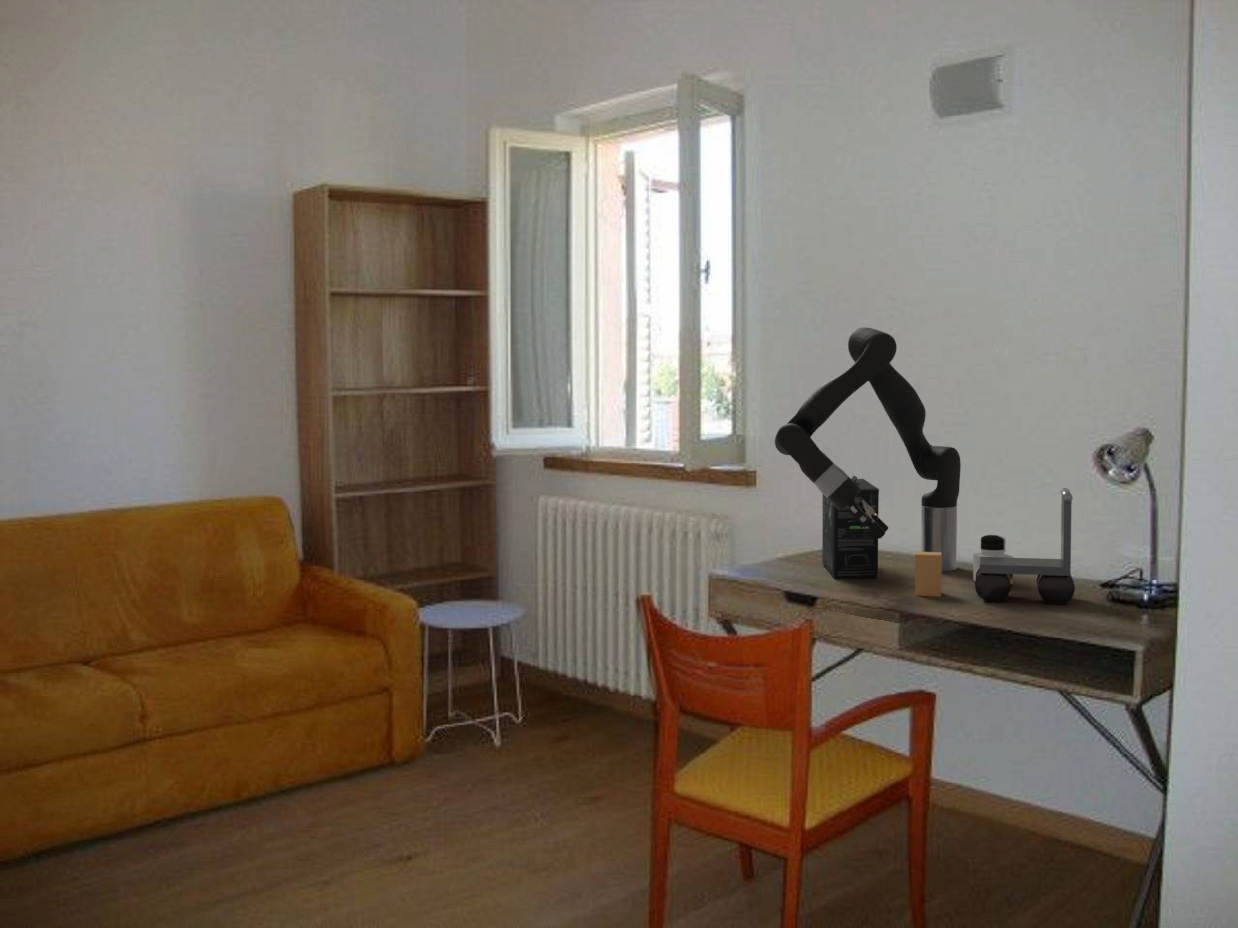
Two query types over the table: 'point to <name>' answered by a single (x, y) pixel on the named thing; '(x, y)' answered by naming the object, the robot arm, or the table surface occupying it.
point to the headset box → (850, 538)
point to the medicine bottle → (990, 551)
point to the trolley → (1032, 568)
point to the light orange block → (928, 573)
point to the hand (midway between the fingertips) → (884, 533)
